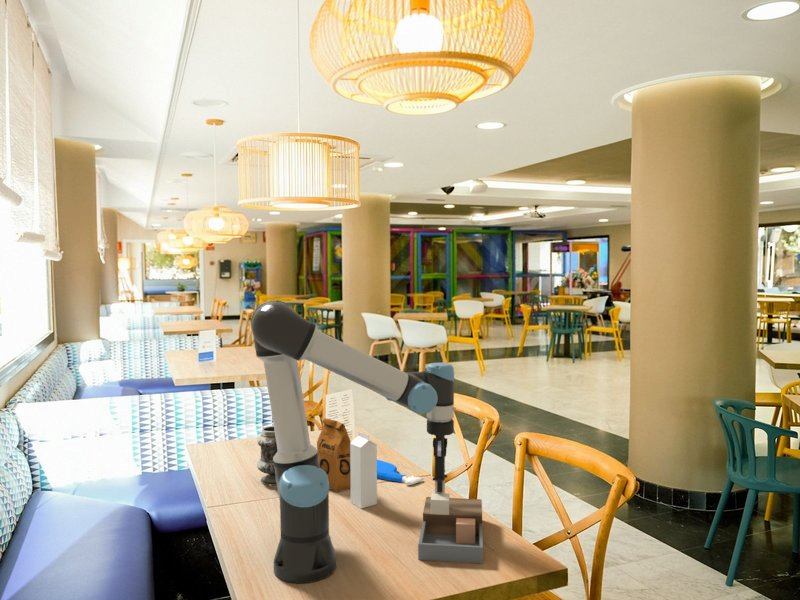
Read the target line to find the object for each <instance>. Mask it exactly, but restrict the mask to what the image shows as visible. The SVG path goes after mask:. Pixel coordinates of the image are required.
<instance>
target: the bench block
mask: <svg viewBox="0 0 800 600" xmlns="http://www.w3.org/2000/svg"><path fill="white" fill-rule="evenodd" d="M482 505H483V501H482V498H481V499H477V498H460V497H459V498H455V497H449V515H438V514H430V511H431V496H426V497H425V501H424V507H423V510H422V511H423V512H422V522H423V521H426V534H445V535H456V518H472V519H475V536H479V524H482V525H483V506H482Z"/></svg>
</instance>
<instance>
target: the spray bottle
mask: <svg viewBox="0 0 800 600" xmlns="http://www.w3.org/2000/svg"><path fill="white" fill-rule="evenodd" d="M377 478H378V479H377V480H381V479H382V480H384V481H390V482H398V483H403V484H405V485H406V486H407V487H408V486H413V485H416V484H418V483H421V482H422V480H423V481H424V480H425V478H424V477H423V476H422V477H418V476H417V477H415V476H414V475H413V474H412V475H411V476H407V475H406V474H402V473H398V468H397V466H396V465H395V464H393V463H390V462H387V461H385V460H381V459H377Z"/></svg>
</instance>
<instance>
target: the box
mask: <svg viewBox="0 0 800 600" xmlns="http://www.w3.org/2000/svg"><path fill="white" fill-rule="evenodd" d="M483 532H484V531H483V523H482V524H479V536H475V544H473V543H456V535H445V534H426V521H423V520H422V523H421V530H420V534H419V539H418V544H417V549H418V550H417V551H418V552H417V553H418V554H417V555H418V557H417V558H418V559H417V560H418V561H436V562H450V563H455V562H456V563H465V564H466V563H467V564H468V563H470V564H483V563H484V541H483V540H484V537H483V536H484V535H483Z"/></svg>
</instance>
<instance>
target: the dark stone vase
mask: <svg viewBox="0 0 800 600" xmlns="http://www.w3.org/2000/svg"><path fill="white" fill-rule="evenodd" d="M256 442H257V445H258V446H259V447H260V458H259V459H258V460H257V462H256V467H257V470H258V471H260V472H261V473H263V474H266V475H265V476H263V477H261V479H260V482H261V484H263V485H269V486H277V485H276V474H275V468H274V462H273V457H274V456H275V454H276V453H277V451H278V449H277V443H276V437H275V430H274V425H269V426H265V427H262V429H261V434H260V435H259V436H257V440H256Z"/></svg>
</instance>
